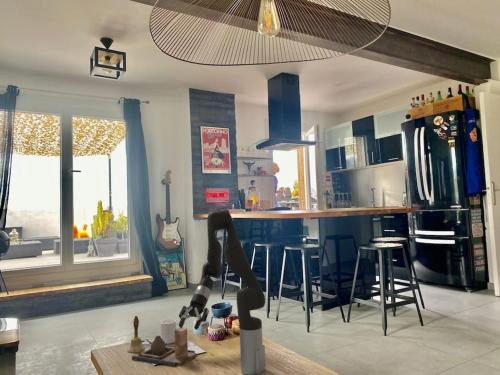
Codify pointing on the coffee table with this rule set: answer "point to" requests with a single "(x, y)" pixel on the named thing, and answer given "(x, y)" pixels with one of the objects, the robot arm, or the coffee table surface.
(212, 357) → the coffee table surface
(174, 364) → the lane rails
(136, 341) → the hand bell
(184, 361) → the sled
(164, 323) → the white cup
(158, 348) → the vase
